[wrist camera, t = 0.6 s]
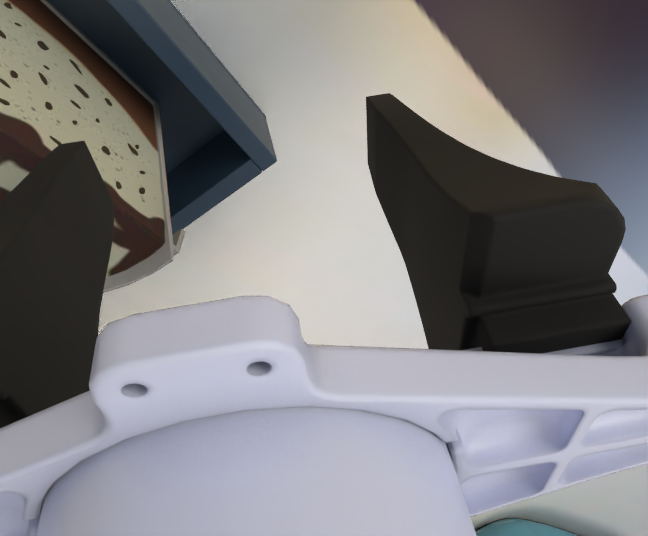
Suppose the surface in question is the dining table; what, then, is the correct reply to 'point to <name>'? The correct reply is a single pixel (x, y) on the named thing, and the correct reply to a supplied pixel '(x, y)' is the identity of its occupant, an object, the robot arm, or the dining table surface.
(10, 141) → the food container
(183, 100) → the tote
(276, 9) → the dining table surface
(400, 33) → the dining table surface
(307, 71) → the dining table surface
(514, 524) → the casserole dish
